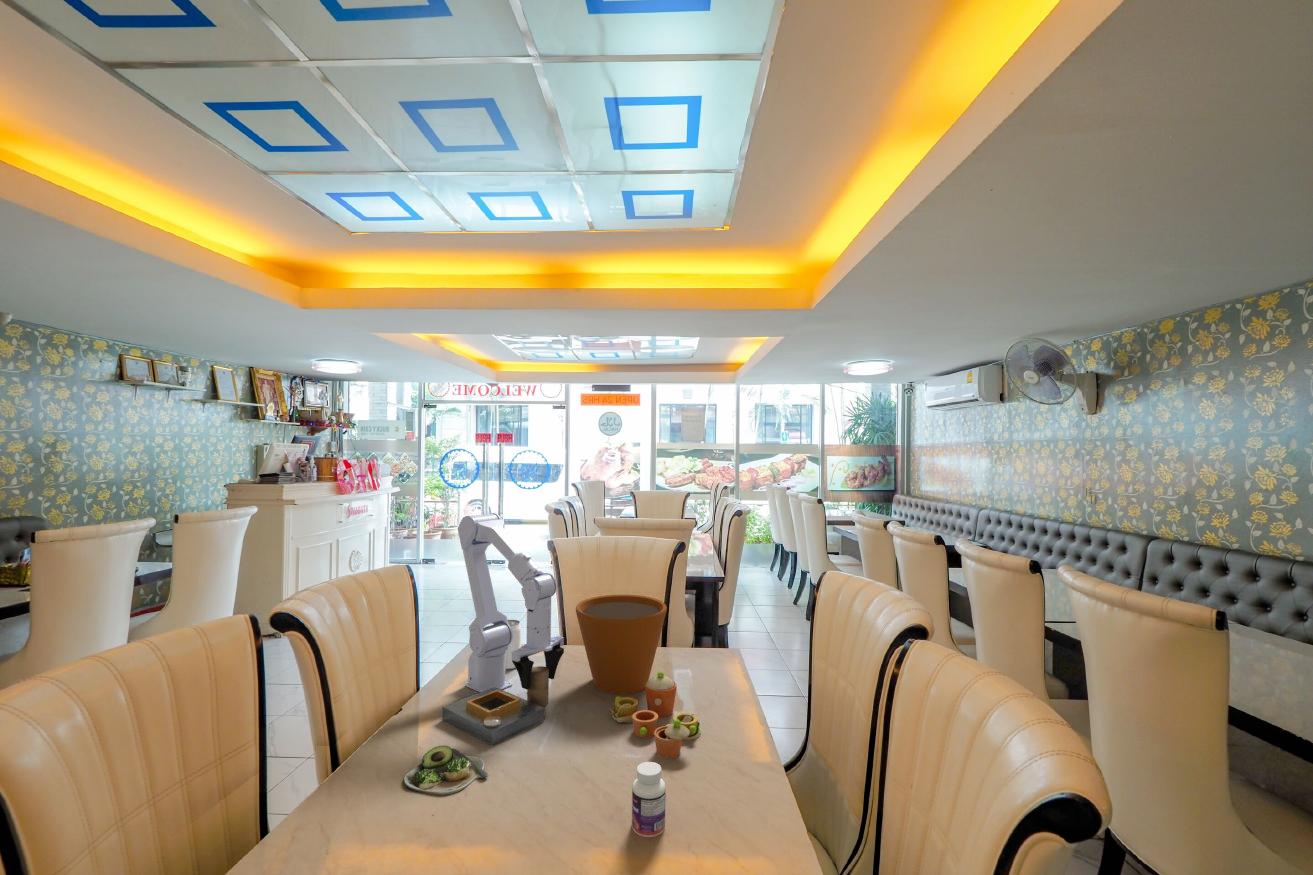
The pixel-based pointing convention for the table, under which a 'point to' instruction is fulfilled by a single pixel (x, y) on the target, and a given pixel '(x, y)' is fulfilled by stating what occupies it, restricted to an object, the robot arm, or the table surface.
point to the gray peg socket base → (493, 715)
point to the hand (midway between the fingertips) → (538, 682)
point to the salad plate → (444, 770)
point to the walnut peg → (539, 686)
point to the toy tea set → (659, 705)
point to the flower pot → (621, 639)
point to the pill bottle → (648, 800)
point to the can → (513, 643)
